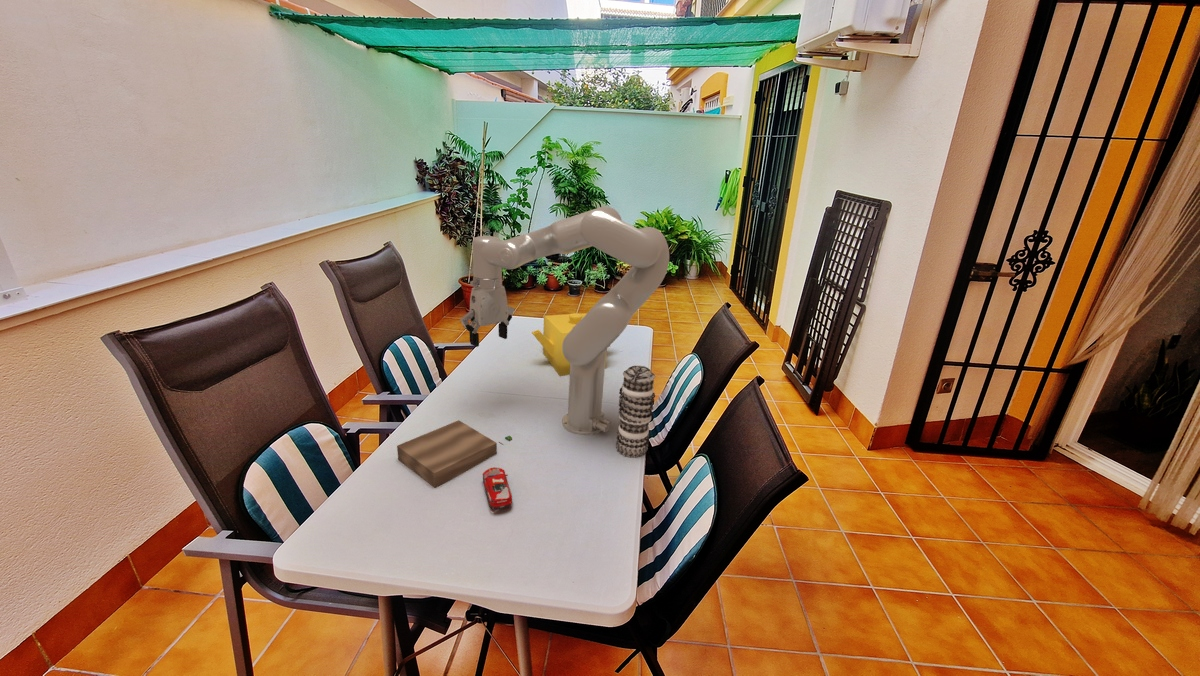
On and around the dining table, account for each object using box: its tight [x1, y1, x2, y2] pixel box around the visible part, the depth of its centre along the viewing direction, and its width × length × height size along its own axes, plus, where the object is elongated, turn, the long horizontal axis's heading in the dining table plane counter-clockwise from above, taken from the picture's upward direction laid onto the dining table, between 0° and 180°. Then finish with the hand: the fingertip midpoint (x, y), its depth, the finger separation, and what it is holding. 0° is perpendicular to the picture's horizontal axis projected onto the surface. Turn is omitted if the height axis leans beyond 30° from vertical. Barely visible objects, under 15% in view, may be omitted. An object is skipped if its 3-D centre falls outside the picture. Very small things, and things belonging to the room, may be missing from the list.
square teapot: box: [531, 312, 611, 377], centre depth 176 cm, size 35×30×21 cm
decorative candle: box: [615, 365, 656, 459], centre depth 126 cm, size 9×9×25 cm
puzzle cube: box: [498, 435, 513, 446], centre depth 131 cm, size 4×3×2 cm, turn 140°
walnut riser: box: [396, 419, 498, 489], centre depth 124 cm, size 16×18×4 cm
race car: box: [482, 467, 513, 511], centre depth 112 cm, size 13×5×4 cm, turn 20°
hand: (489, 341), depth 139 cm, fingers open, 9 cm apart
